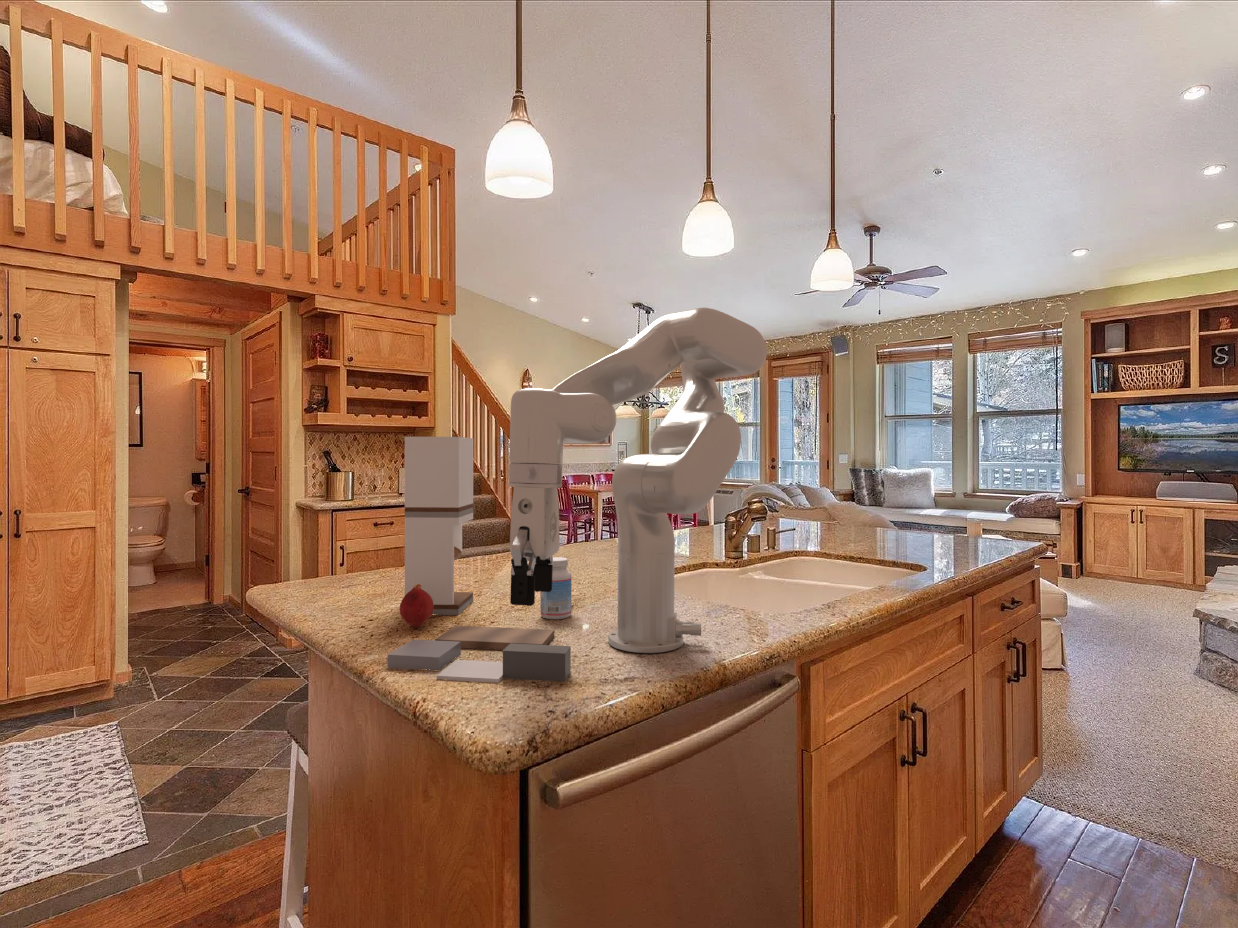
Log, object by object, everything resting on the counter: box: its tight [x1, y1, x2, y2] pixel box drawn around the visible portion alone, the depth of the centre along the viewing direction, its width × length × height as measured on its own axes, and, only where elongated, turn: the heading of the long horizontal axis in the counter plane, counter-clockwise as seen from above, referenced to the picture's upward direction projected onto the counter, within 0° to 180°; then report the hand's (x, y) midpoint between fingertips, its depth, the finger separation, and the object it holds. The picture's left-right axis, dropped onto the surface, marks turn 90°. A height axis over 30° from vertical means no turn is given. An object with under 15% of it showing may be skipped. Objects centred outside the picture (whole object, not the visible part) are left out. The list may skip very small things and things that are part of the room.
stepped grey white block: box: [436, 643, 572, 684], centre depth 91 cm, size 18×7×4 cm, turn 82°
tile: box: [387, 639, 462, 671], centre depth 97 cm, size 8×2×8 cm
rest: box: [434, 625, 555, 651], centre depth 107 cm, size 18×8×1 cm, turn 82°
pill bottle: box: [539, 556, 573, 620], centre depth 124 cm, size 6×6×11 cm
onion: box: [399, 583, 434, 629], centre depth 115 cm, size 6×6×8 cm
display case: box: [404, 436, 474, 616], centre depth 130 cm, size 11×11×35 cm
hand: (532, 597), depth 90 cm, fingers open, 9 cm apart
